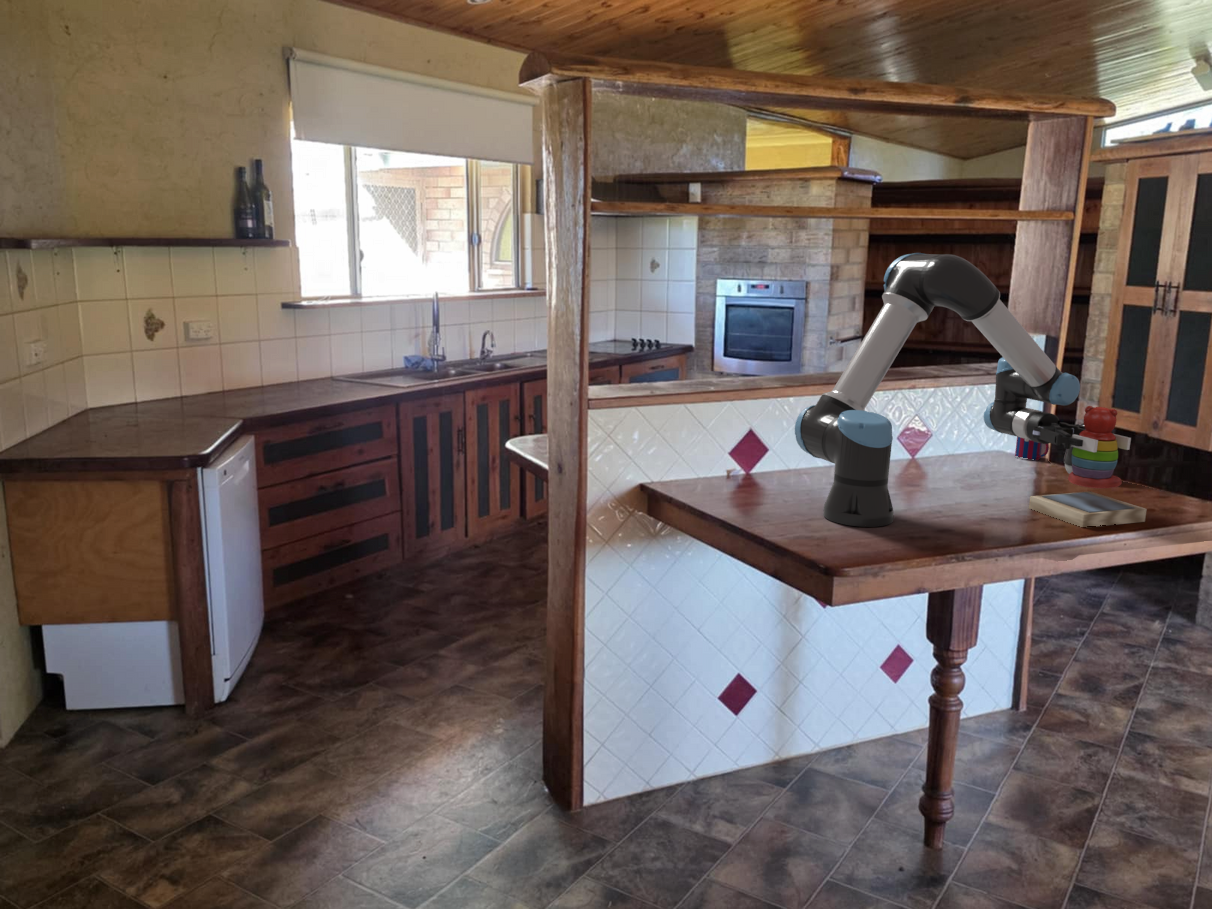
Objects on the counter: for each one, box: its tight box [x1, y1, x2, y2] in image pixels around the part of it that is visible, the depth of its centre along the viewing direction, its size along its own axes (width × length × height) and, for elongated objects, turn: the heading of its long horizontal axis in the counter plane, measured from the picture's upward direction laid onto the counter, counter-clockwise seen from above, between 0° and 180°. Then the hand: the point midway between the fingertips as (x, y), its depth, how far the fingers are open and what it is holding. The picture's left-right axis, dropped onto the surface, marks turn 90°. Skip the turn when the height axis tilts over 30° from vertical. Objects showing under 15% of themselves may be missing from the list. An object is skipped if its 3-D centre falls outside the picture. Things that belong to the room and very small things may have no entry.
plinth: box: [1028, 491, 1147, 528], centre depth 220 cm, size 18×16×3 cm
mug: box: [1014, 436, 1050, 461], centre depth 278 cm, size 7×10×7 cm
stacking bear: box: [1067, 405, 1123, 489], centre depth 217 cm, size 11×10×18 cm
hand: (1112, 445), depth 212 cm, fingers closed on stacking bear, 9 cm apart
